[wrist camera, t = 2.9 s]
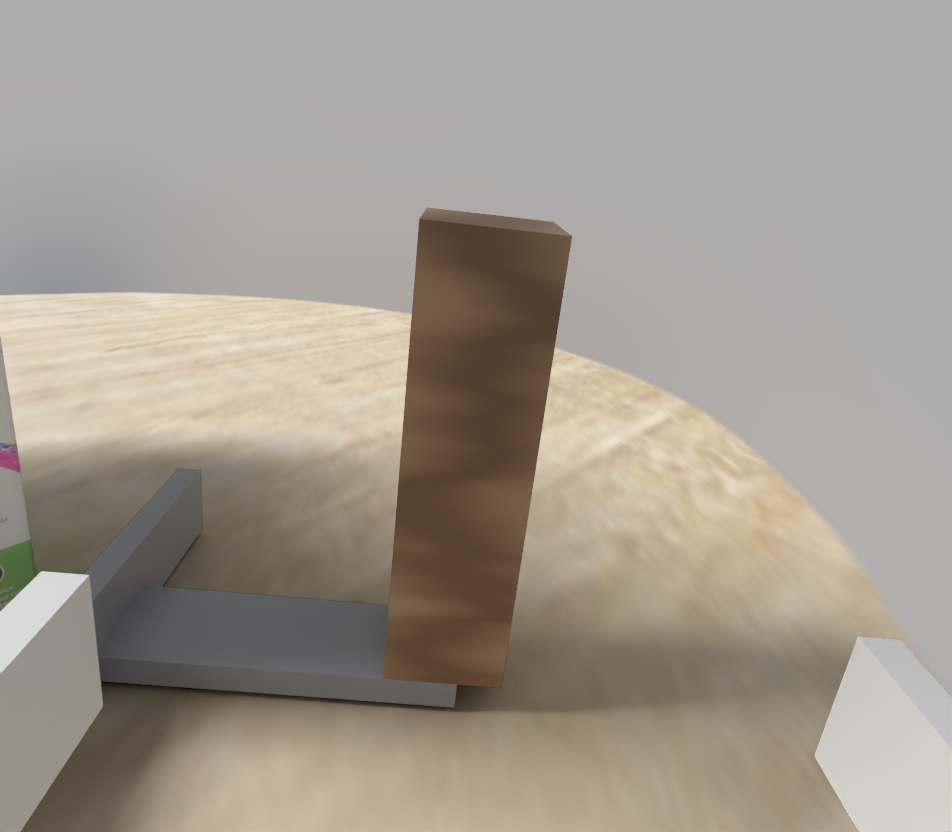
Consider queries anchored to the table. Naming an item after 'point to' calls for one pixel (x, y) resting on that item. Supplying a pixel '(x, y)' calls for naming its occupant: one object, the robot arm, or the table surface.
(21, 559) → the ink box
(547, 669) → the table surface
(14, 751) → the robot arm
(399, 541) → the wooden post on rail
